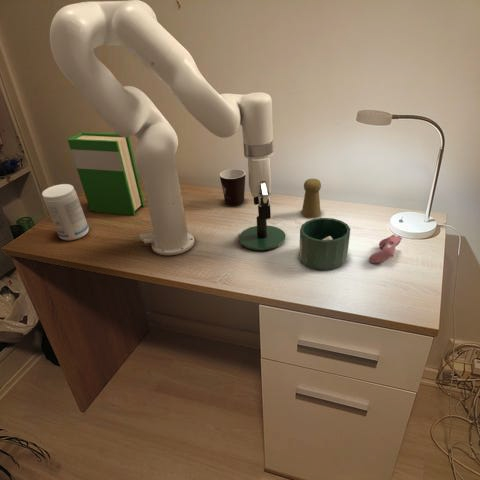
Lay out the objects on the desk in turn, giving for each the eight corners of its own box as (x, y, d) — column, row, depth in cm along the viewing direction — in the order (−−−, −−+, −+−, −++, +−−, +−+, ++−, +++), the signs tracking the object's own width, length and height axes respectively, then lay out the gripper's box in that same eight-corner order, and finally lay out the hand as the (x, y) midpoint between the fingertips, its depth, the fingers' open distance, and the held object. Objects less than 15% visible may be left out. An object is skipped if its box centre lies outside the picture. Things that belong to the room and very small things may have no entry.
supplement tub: (88, 224, 137) (73, 181, 128) (90, 237, 130) (75, 192, 121) (58, 231, 135) (41, 187, 125) (58, 244, 128) (41, 199, 118)
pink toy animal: (380, 271, 108) (397, 253, 103) (366, 260, 109) (382, 242, 104) (391, 253, 115) (408, 235, 109) (378, 243, 115) (393, 225, 110)
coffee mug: (247, 207, 139) (245, 178, 133) (221, 208, 140) (218, 179, 133) (247, 192, 148) (245, 164, 142) (223, 194, 148) (220, 166, 142)
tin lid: (241, 254, 116) (240, 231, 112) (236, 231, 127) (235, 209, 122) (289, 249, 117) (290, 225, 112) (280, 226, 127) (280, 204, 123)
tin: (305, 272, 108) (306, 244, 102) (295, 248, 117) (295, 220, 112) (353, 267, 108) (356, 238, 103) (339, 243, 118) (341, 215, 112)
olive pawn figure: (320, 218, 130) (322, 184, 123) (300, 217, 131) (301, 184, 124) (321, 209, 134) (323, 176, 127) (302, 209, 135) (303, 176, 128)
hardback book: (144, 205, 145) (128, 134, 130) (134, 215, 140) (115, 141, 125) (102, 201, 150) (81, 132, 135) (90, 210, 145) (67, 139, 130)
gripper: (240, 139, 111) (245, 200, 122) (248, 162, 98) (252, 227, 109) (267, 136, 112) (270, 196, 123) (279, 158, 98) (280, 223, 109)
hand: (262, 211), depth 116 cm, fingers open, 9 cm apart
